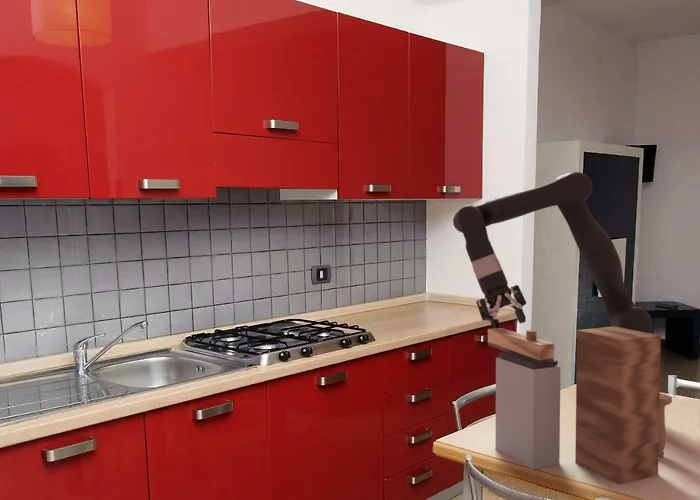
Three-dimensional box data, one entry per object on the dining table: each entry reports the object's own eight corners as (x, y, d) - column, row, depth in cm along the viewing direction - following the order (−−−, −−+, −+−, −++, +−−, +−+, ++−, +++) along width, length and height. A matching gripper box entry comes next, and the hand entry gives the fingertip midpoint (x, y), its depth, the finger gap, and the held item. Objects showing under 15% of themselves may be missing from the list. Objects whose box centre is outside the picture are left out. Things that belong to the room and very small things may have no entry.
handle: (666, 462, 143) (667, 400, 142) (638, 454, 147) (639, 394, 147) (673, 456, 146) (674, 396, 145) (645, 449, 151) (647, 391, 150)
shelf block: (612, 454, 148) (614, 326, 146) (658, 474, 136) (660, 335, 134) (575, 462, 143) (577, 330, 141) (619, 484, 131) (621, 340, 130)
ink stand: (520, 443, 155) (521, 349, 154) (559, 463, 142) (560, 361, 141) (495, 448, 152) (496, 352, 151) (532, 469, 139) (533, 364, 138)
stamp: (500, 344, 161) (500, 320, 161) (554, 362, 140) (554, 335, 140) (487, 345, 160) (487, 321, 159) (539, 363, 139) (540, 336, 139)
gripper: (500, 269, 174) (522, 321, 172) (462, 283, 168) (484, 337, 166) (516, 263, 167) (538, 317, 165) (476, 277, 161) (499, 334, 159)
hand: (511, 327), depth 166 cm, fingers open, 8 cm apart
